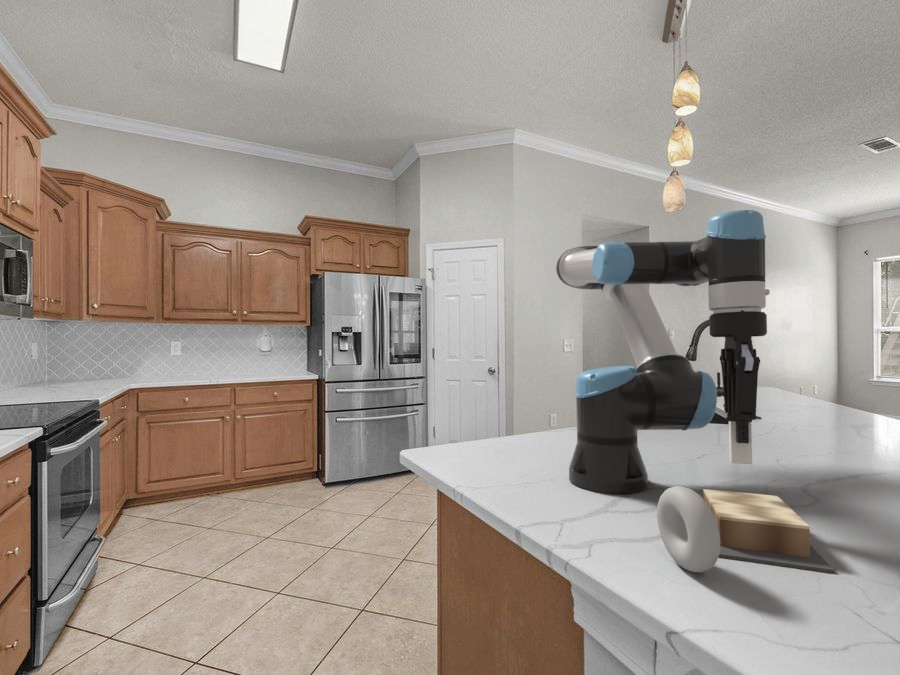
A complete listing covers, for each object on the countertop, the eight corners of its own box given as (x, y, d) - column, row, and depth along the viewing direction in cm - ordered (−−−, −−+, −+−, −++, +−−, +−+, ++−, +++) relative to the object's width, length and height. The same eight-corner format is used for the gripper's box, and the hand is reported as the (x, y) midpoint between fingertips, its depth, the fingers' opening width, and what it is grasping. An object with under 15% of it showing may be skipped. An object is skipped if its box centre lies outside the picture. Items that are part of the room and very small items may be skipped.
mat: (711, 555, 58) (711, 552, 58) (694, 516, 71) (694, 514, 71) (834, 573, 53) (834, 569, 53) (791, 527, 66) (791, 525, 66)
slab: (703, 513, 71) (720, 545, 60) (703, 489, 71) (719, 516, 60) (777, 522, 67) (810, 557, 56) (777, 495, 67) (809, 526, 56)
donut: (652, 550, 59) (650, 476, 60) (676, 548, 60) (674, 475, 60) (700, 591, 49) (698, 502, 50) (728, 589, 50) (726, 501, 50)
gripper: (780, 307, 61) (784, 476, 61) (753, 313, 73) (756, 454, 73) (718, 309, 64) (722, 471, 63) (702, 315, 76) (705, 451, 75)
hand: (740, 462), depth 68 cm, fingers closed
